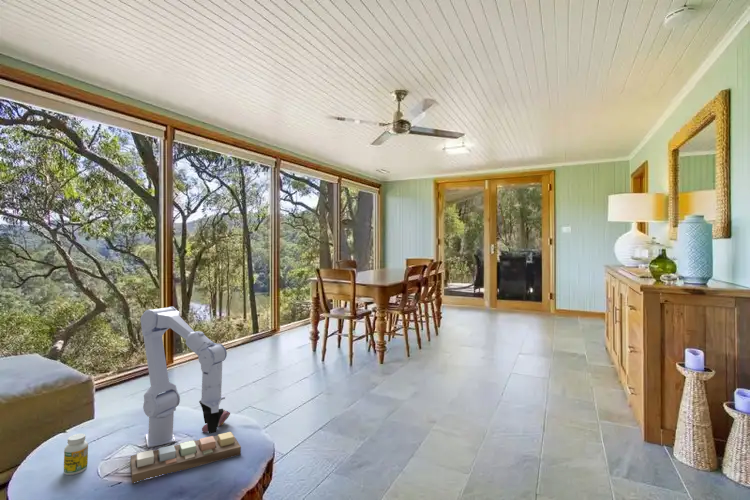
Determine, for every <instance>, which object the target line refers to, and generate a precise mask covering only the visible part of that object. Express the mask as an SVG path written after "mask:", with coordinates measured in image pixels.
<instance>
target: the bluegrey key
mask: <svg viewBox="0 0 750 500" xmlns="http://www.w3.org/2000/svg"><path fill="white" fill-rule="evenodd" d="M174 446H175V445H174V444H172V445H168V446H163V447H159V448H158V450H159V455H158V458H159V462H162V461H166V460H170V459H174V458H175V455H176V450H175V447H174Z"/></svg>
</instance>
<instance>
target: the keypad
mask: <svg viewBox="0 0 750 500" xmlns="http://www.w3.org/2000/svg"><path fill="white" fill-rule="evenodd" d="M230 432H231V431H230ZM231 433H232V434H233V432H231ZM233 436H234V443H233V444H229V445H225V446H221V447H220V446H219V444H218V435H215V436H214V435H213V437H214V439H215V441H216V444H215V448H213V449H209V450H205V451H200V449H199V440H194V442H195V444H196V453H193V454H189V455H185V456H180V453H179V446H180V444H176V445H174V447H175V450H176V455H175V458H174V459H170V460H166V461H162V462H159V458H158V455H159V449H155V450H153V454H154V464H150V465H146V466H142V467H138V468H137V464H136V460H137V454H134V455H130V457H129V459H130V463H129V464H130V475H131V477H132V478H131V484H132V483H134V482H137V481H140V480H144V479H146V478H150V477H155V476H159V475H162V474H167V473H171V472H174V473H176V472H177V471H178V472H181V471H180V470H182V471H186V470H189V469H192V468H197V467H200V466H203V465H207V464H211V463H214V462H218V461H221V460H226V459H229V458H233V457H236V456H240V455H241V454H242V446H241V444H240V443H239V442H238V440H237V438H236V437H235V435H234V434H233ZM188 468H189V469H188ZM171 474H172V473H171ZM167 475H168V474H167ZM159 477H160V476H159ZM137 483H138V482H137ZM134 484H135V483H134Z"/></svg>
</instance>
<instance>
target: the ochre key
mask: <svg viewBox="0 0 750 500" xmlns="http://www.w3.org/2000/svg"><path fill="white" fill-rule="evenodd" d="M233 435H234V433H233V432H232V433H231V431H228V432H223V433H219V434H217V436H218V444H219V446H220V447H221V446H225V445H229V444H233V443H234V437H235V435H234V436H233Z"/></svg>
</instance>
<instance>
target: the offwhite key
mask: <svg viewBox="0 0 750 500" xmlns="http://www.w3.org/2000/svg"><path fill="white" fill-rule="evenodd" d="M153 451H154V450H153V449H151V450H146V451H141V452H137V453H136V455H137V460H136V464H137V468H138V467H142V466H146V465H150V464H154V454H153Z"/></svg>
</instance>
